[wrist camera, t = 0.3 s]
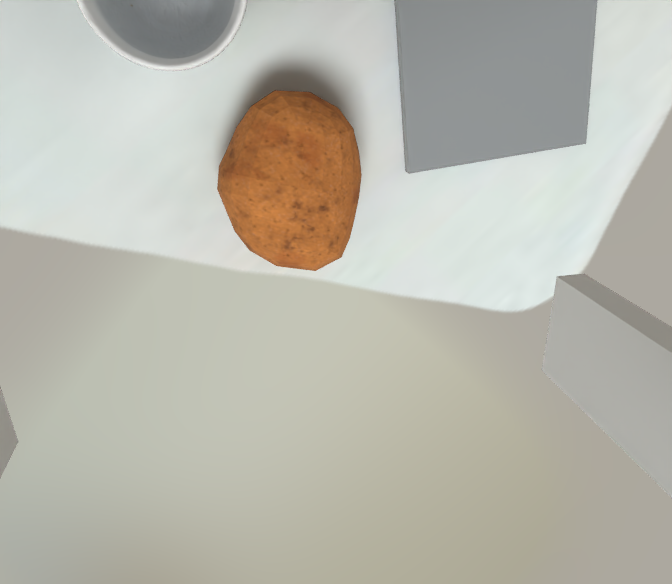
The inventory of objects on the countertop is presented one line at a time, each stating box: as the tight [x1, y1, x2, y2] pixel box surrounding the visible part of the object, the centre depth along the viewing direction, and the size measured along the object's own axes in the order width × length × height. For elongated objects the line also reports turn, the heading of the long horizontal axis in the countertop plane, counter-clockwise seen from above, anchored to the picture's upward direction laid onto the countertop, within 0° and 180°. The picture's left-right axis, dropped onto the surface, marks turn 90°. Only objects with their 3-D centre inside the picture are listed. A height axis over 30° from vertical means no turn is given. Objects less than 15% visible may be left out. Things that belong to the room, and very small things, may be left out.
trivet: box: [395, 0, 597, 173], centre depth 37 cm, size 14×14×1 cm
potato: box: [217, 90, 361, 271], centre depth 35 cm, size 9×11×8 cm
